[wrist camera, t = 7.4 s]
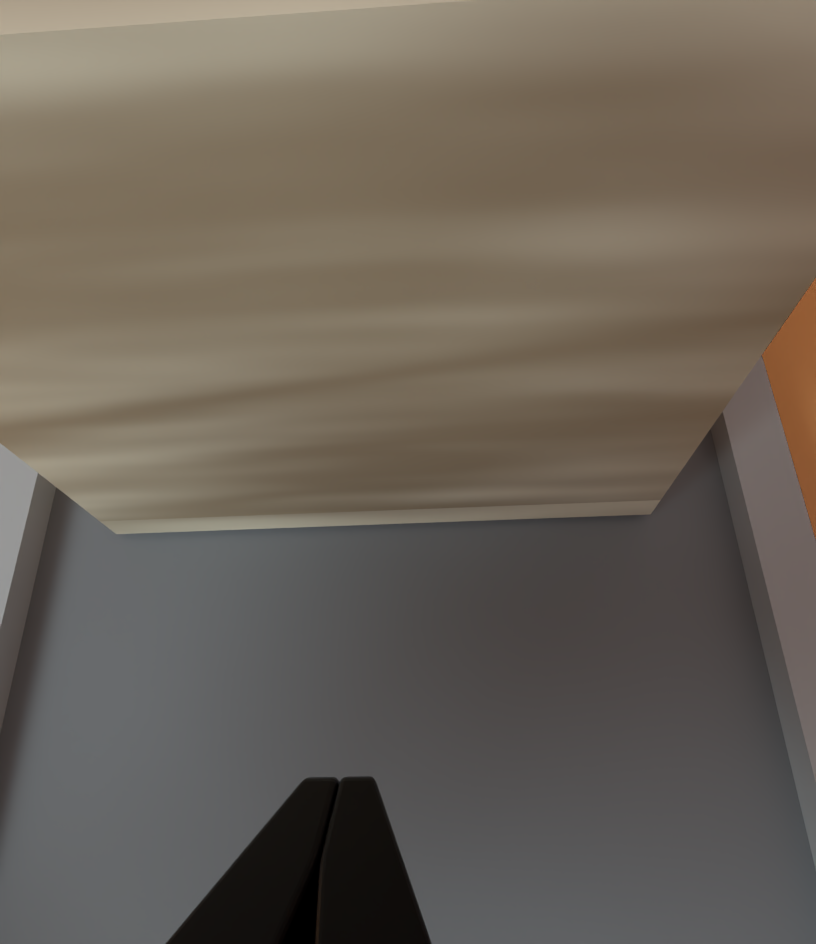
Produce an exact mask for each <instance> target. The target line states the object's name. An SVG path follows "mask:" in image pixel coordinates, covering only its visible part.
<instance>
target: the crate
mask: <svg viewBox="0 0 816 944" xmlns="http://www.w3.org/2000/svg"><path fill="white" fill-rule="evenodd" d="M815 278H816V0H0V443H1V444H2V445H3V446H4V447H6V448H7V449H8V450H9V451H11V452H12V453H13V454H15V455H16V456H17V457H18V458H20V459H21V460H22V461H24V462H25V463H26V464H27V465H29V466H30V467H31V468H32V469H34V470H35V471H36V472H38V473H39V474H40V475H41V476H43V477H44V478H45V479H46V480H48V481H49V482H50V483H52V484H53V485H54V486H55V487H57V488H58V489H59V490H61V491H62V492H63V493H64V494H66V495H67V496H68V497H69V498H71V499H72V500H73V501H75V502H76V503H77V504H78V505H80V506H81V507H82V508H83V509H85V510H86V511H87V512H89V513H90V514H91V515H92V516H94V517H95V518H96V519H98V520H99V521H100V522H101V523H103V524H104V525H105V526H106V527H108V528H109V529H110V530H112V531H113V532H114V533H115V534H136V533H163V532H190V531H217V530H244V529H271V528H297V527H324V526H351V525H378V524H405V523H432V522H459V521H486V520H513V519H540V518H567V517H594V516H621V515H648V514H651V513H652V512H653V510H654V509H655V508H656V506H657V505H658V503H659V502H660V500H661V499H662V498H663V496H664V495H665V493H666V492H667V490H668V489H669V488H670V486H671V485H672V483H673V482H674V480H675V479H676V477H677V476H678V475H679V473H680V472H681V470H682V469H683V467H684V466H685V465H686V463H687V462H688V460H689V459H690V457H691V456H692V454H693V453H694V452H695V450H696V449H697V447H698V446H699V444H700V443H701V442H702V440H703V439H704V437H705V436H706V434H707V433H708V432H709V430H710V429H711V427H712V426H713V424H714V423H715V421H716V420H717V419H718V417H719V416H720V414H721V413H722V411H723V410H724V409H725V407H726V406H727V404H728V403H729V401H730V400H731V399H732V397H733V396H734V394H735V393H736V391H737V390H738V388H739V387H740V386H741V384H742V383H743V381H744V380H745V378H746V377H747V376H748V374H749V373H750V371H751V370H752V368H753V367H754V366H755V364H756V363H757V361H758V360H759V358H760V357H761V355H762V354H763V353H764V351H765V350H766V348H767V347H768V345H769V344H770V343H771V341H772V340H773V338H774V337H775V335H776V334H777V332H778V331H779V330H780V328H781V327H782V325H783V324H784V322H785V321H786V320H787V318H788V317H789V315H790V314H791V312H792V311H793V310H794V308H795V307H796V305H797V304H798V302H799V301H800V299H801V298H802V297H803V295H804V294H805V292H806V291H807V289H808V288H809V287H810V285H811V284H812V282H813V281H814V279H815Z"/></svg>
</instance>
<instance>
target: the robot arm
mask: <svg viewBox="0 0 816 944" xmlns="http://www.w3.org/2000/svg"><path fill="white" fill-rule="evenodd" d="M165 944H432V943H431V940H430V937H429V934H428V931H427V928H426V925H425V922H424V919H423V917H422V914H421V911H420V908H419V905H418V902H417V899H416V896H415V893H414V890H413V887H412V884H411V882H410V879H409V876H408V873H407V870H406V867H405V864H404V861H403V858H402V855H401V852H400V850H399V847H398V844H397V841H396V838H395V835H394V832H393V829H392V826H391V823H390V820H389V817H388V815H387V812H386V809H385V806H384V803H383V800H382V797H381V794H380V791H379V788H378V785H377V783H376V780H375V779H374V778H373V777H371V776H354V777H343V778H342V779H341V780H340V782H339V780H338V779H337V778H336V777H308V778H306V779H304V780H303V781H302V782H301V783H300V784H299V785H298V786H297V787H296V788H295V790H294V791H293V792H292V793H291V794H290V796H289V797H288V798H287V799H286V800H285V802H284V803H283V804H282V805H281V806H280V808H279V809H278V810H277V811H276V812H275V814H274V815H273V816H272V817H271V818H270V819H269V821H268V822H267V823H266V824H265V825H264V827H263V828H262V829H261V830H260V831H259V833H258V834H257V835H256V836H255V837H254V839H253V840H252V841H251V842H250V843H249V845H248V846H247V847H246V848H245V849H244V850H243V852H242V853H241V854H240V855H239V856H238V858H237V859H236V860H235V861H234V862H233V864H232V865H231V866H230V867H229V868H228V870H227V871H226V872H225V873H224V874H223V876H222V877H221V878H220V879H219V880H218V881H217V883H216V884H215V885H214V886H213V887H212V889H211V890H210V891H209V892H208V893H207V895H206V896H205V897H204V898H203V899H202V901H201V902H200V903H199V904H198V905H197V907H196V908H195V909H194V910H193V911H192V912H191V914H190V915H189V916H188V917H187V918H186V920H185V921H184V922H183V923H182V924H181V926H180V927H179V928H178V929H177V930H176V932H175V933H174V934H173V935H172V936H171V938H170V939H169V940H168V941H167V942H166V943H165Z"/></svg>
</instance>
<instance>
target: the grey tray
mask: <svg viewBox="0 0 816 944" xmlns="http://www.w3.org/2000/svg"><path fill="white" fill-rule="evenodd" d="M354 776H371V777H373V778H374V779H375V780H376V783H377V785H378V788H379V791H380V794H381V797H382V800H383V803H384V806H385V809H386V812H387V815H388V817H389V820H390V823H391V826H392V829H393V832H394V835H395V838H396V841H397V844H398V847H399V850H400V852H401V855H402V858H403V861H404V864H405V867H406V870H407V873H408V876H409V879H410V882H411V884H412V887H413V890H414V893H415V896H416V899H417V902H418V905H419V908H420V911H421V914H422V917H423V919H424V922H425V925H426V928H427V931H428V934H429V937H430V940H431V943H432V944H816V540H815V536H814V533H813V529H812V526H811V522H810V519H809V516H808V512H807V509H806V505H805V502H804V498H803V495H802V492H801V488H800V485H799V481H798V478H797V474H796V471H795V468H794V464H793V461H792V457H791V454H790V450H789V447H788V443H787V440H786V437H785V433H784V430H783V426H782V423H781V419H780V416H779V413H778V409H777V406H776V402H775V399H774V395H773V392H772V389H771V385H770V382H769V378H768V375H767V371H766V368H765V364H764V361H763V358H762V355H761V357H760V358H759V360H758V361H757V363H756V364H755V366H754V367H753V368H752V370H751V371H750V373H749V374H748V376H747V377H746V378H745V380H744V381H743V383H742V384H741V386H740V387H739V388H738V390H737V391H736V393H735V394H734V396H733V397H732V399H731V400H730V401H729V403H728V404H727V406H726V407H725V409H724V410H723V411H722V413H721V414H720V416H719V417H718V419H717V420H716V421H715V423H714V424H713V426H712V427H711V429H710V430H709V432H708V433H707V434H706V436H705V437H704V439H703V440H702V442H701V443H700V444H699V446H698V447H697V449H696V450H695V452H694V453H693V454H692V456H691V457H690V459H689V460H688V462H687V463H686V465H685V466H684V467H683V469H682V470H681V472H680V473H679V475H678V476H677V477H676V479H675V480H674V482H673V483H672V485H671V486H670V488H669V489H668V490H667V492H666V493H665V495H664V496H663V498H662V499H661V500H660V502H659V503H658V505H657V506H656V508H655V509H654V510H653V512H652V513H651V514H648V515H621V516H594V517H567V518H540V519H513V520H486V521H459V522H432V523H405V524H378V525H351V526H324V527H297V528H271V529H244V530H217V531H190V532H163V533H136V534H115V533H114V532H113V531H112V530H110V529H109V528H108V527H106V526H105V525H104V524H103V523H101V522H100V521H99V520H98V519H96V518H95V517H94V516H92V515H91V514H90V513H89V512H87V511H86V510H85V509H83V508H82V507H81V506H80V505H78V504H77V503H76V502H75V501H73V500H72V499H71V498H69V497H68V496H67V495H66V494H64V493H63V492H62V491H61V490H59V489H58V488H57V487H55V486H54V485H53V484H52V483H50V482H49V481H48V480H46V479H45V478H44V477H43V476H41V475H40V474H39V473H38V472H36V471H35V470H34V469H32V468H31V467H30V466H29V465H27V464H26V463H25V462H24V461H22V460H21V459H20V458H18V457H17V456H16V455H15V454H13V453H12V452H11V451H9V450H8V449H7V448H6V447H4V446H3V445H2V444H1V443H0V944H165V943H166V942H167V941H168V940H169V939H170V938H171V936H172V935H173V934H174V933H175V932H176V930H177V929H178V928H179V927H180V926H181V924H182V923H183V922H184V921H185V920H186V918H187V917H188V916H189V915H190V914H191V912H192V911H193V910H194V909H195V908H196V907H197V905H198V904H199V903H200V902H201V901H202V899H203V898H204V897H205V896H206V895H207V893H208V892H209V891H210V890H211V889H212V887H213V886H214V885H215V884H216V883H217V881H218V880H219V879H220V878H221V877H222V876H223V874H224V873H225V872H226V871H227V870H228V868H229V867H230V866H231V865H232V864H233V862H234V861H235V860H236V859H237V858H238V856H239V855H240V854H241V853H242V852H243V850H244V849H245V848H246V847H247V846H248V845H249V843H250V842H251V841H252V840H253V839H254V837H255V836H256V835H257V834H258V833H259V831H260V830H261V829H262V828H263V827H264V825H265V824H266V823H267V822H268V821H269V819H270V818H271V817H272V816H273V815H274V814H275V812H276V811H277V810H278V809H279V808H280V806H281V805H282V804H283V803H284V802H285V800H286V799H287V798H288V797H289V796H290V794H291V793H292V792H293V791H294V790H295V788H296V787H297V786H298V785H299V784H300V783H301V782H302V781H303V780H304V779H306V778H308V777H336V778H337V779H338V780H339V782H340V780H341V779H342V778H343V777H354Z"/></svg>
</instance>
